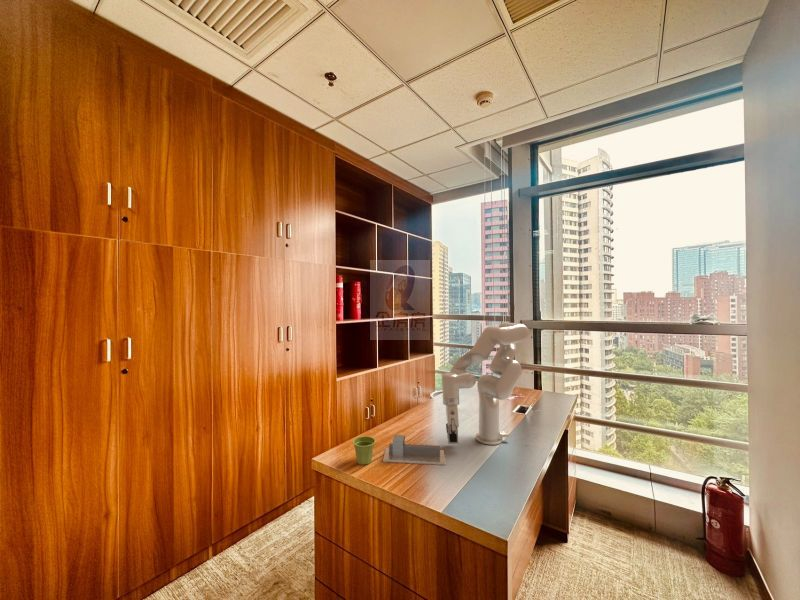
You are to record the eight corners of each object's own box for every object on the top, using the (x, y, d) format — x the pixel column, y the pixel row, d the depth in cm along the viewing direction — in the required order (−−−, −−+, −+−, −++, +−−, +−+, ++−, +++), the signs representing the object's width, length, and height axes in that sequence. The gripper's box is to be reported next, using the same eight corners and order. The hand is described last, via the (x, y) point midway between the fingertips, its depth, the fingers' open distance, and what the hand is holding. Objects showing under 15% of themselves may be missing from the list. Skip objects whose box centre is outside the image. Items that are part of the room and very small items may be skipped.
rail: (443, 452, 141) (443, 434, 141) (445, 465, 130) (445, 445, 130) (386, 449, 143) (386, 431, 143) (383, 461, 132) (383, 442, 132)
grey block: (457, 437, 149) (456, 422, 149) (458, 443, 143) (457, 428, 143) (446, 437, 149) (445, 423, 149) (447, 443, 143) (446, 428, 143)
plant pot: (366, 469, 126) (366, 448, 126) (348, 463, 131) (348, 442, 131) (379, 459, 134) (379, 439, 134) (362, 454, 139) (362, 434, 139)
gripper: (461, 406, 137) (463, 447, 137) (457, 393, 154) (458, 430, 154) (444, 407, 137) (445, 447, 138) (441, 394, 154) (443, 430, 155)
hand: (452, 438), depth 146 cm, fingers closed on grey block, 6 cm apart
